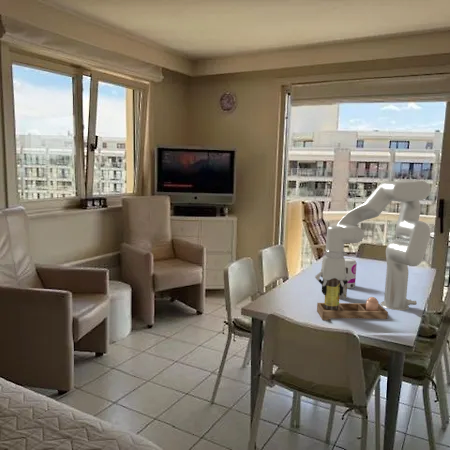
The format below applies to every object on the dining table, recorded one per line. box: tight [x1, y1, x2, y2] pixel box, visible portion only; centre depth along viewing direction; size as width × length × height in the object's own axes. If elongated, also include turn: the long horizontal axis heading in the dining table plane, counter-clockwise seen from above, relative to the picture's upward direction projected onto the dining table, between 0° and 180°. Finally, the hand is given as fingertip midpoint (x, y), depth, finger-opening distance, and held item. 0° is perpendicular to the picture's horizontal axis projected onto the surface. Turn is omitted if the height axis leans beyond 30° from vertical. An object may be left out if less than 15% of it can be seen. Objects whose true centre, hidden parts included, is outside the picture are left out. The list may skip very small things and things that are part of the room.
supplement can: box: [344, 257, 358, 289], centre depth 235 cm, size 8×8×15 cm
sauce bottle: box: [323, 278, 340, 310], centre depth 189 cm, size 6×6×20 cm
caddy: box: [316, 302, 389, 321], centre depth 191 cm, size 28×11×4 cm, turn 90°
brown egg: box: [365, 296, 379, 311], centre depth 191 cm, size 5×5×8 cm
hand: (332, 293), depth 190 cm, fingers closed on sauce bottle, 6 cm apart
